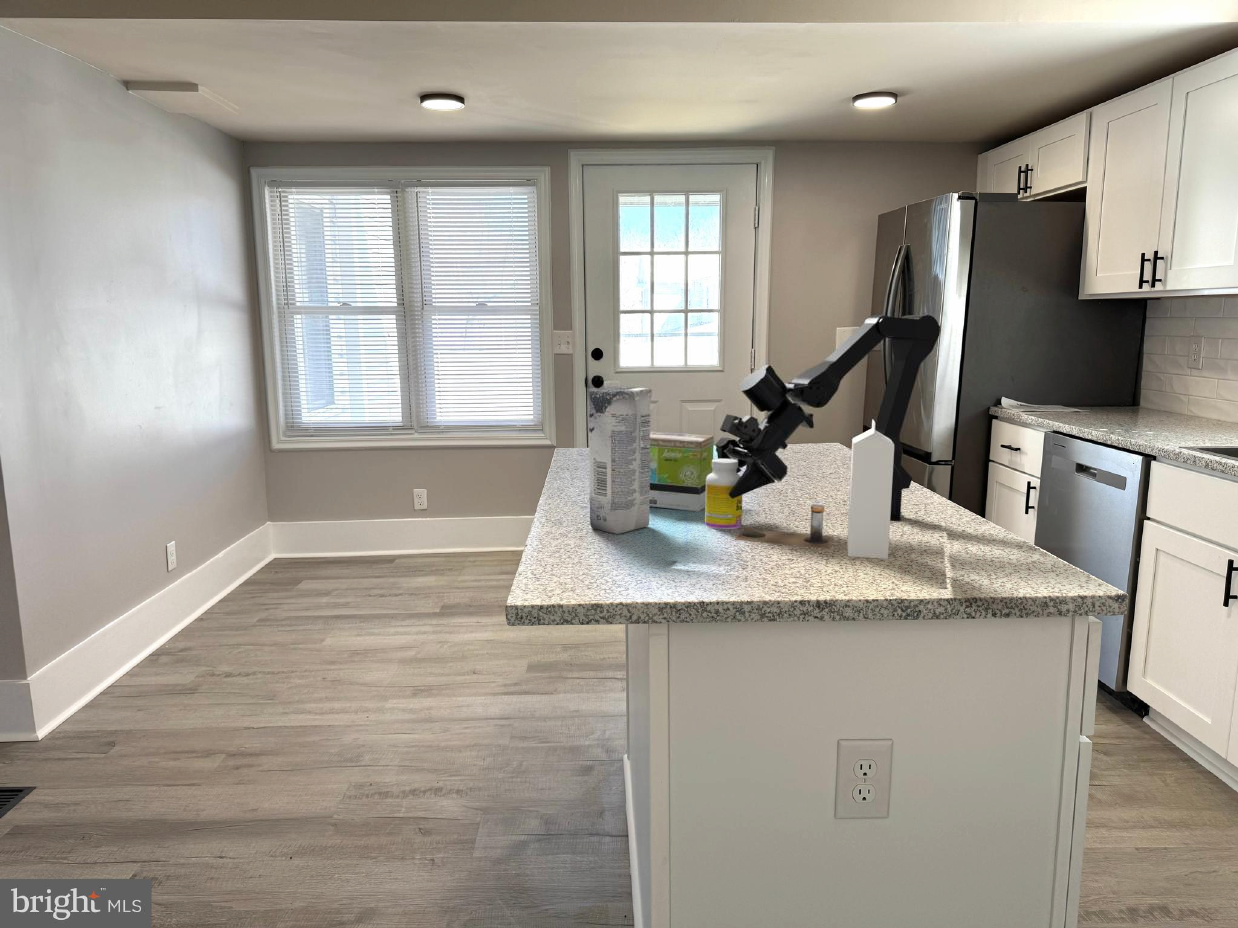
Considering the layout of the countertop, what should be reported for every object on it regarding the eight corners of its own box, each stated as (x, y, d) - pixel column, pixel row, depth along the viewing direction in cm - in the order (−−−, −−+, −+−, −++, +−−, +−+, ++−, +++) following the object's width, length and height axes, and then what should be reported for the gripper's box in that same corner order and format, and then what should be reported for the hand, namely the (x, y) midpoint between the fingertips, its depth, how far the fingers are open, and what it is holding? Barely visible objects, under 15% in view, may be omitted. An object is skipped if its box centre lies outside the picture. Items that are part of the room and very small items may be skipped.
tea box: (630, 506, 166) (630, 435, 164) (646, 497, 175) (647, 430, 173) (699, 512, 161) (701, 439, 158) (713, 503, 170) (714, 433, 167)
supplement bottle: (740, 535, 142) (742, 464, 140) (703, 533, 144) (704, 462, 142) (742, 526, 149) (744, 458, 147) (706, 524, 150) (708, 457, 148)
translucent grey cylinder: (823, 539, 135) (825, 504, 134) (821, 542, 133) (823, 507, 132) (810, 538, 136) (811, 503, 135) (808, 541, 134) (810, 506, 133)
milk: (847, 562, 126) (853, 422, 122) (846, 552, 131) (852, 418, 128) (888, 565, 124) (895, 423, 121) (885, 554, 130) (892, 419, 126)
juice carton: (656, 526, 149) (658, 380, 144) (618, 536, 141) (618, 383, 137) (621, 519, 155) (621, 378, 150) (582, 528, 147) (581, 381, 143)
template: (833, 541, 138) (834, 536, 138) (828, 553, 130) (828, 547, 130) (744, 533, 143) (744, 528, 143) (734, 544, 136) (734, 538, 136)
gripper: (725, 395, 153) (671, 454, 151) (774, 403, 135) (712, 470, 133) (761, 434, 156) (708, 493, 155) (813, 447, 139) (753, 513, 137)
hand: (719, 491), depth 145 cm, fingers open, 9 cm apart
